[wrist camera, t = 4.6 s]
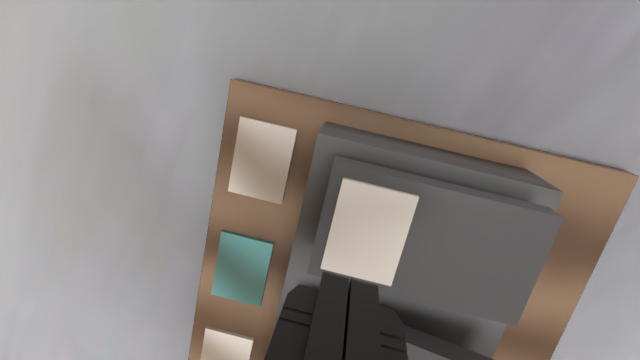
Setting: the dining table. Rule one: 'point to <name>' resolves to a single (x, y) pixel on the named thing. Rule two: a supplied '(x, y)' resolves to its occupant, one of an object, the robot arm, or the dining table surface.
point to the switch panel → (282, 220)
